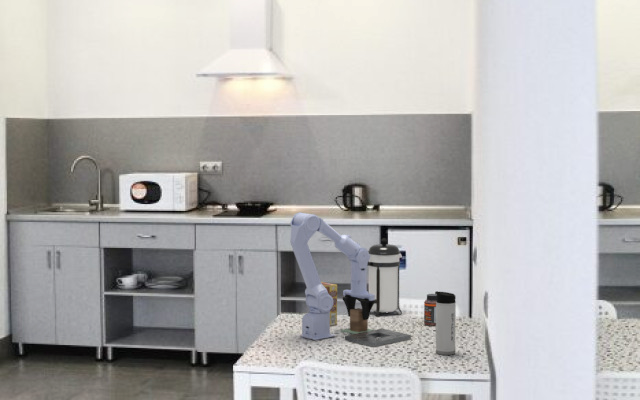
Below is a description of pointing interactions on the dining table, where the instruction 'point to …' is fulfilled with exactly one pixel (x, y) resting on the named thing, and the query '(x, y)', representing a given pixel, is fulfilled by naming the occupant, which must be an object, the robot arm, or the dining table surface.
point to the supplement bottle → (430, 310)
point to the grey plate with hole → (369, 339)
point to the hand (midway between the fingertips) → (358, 317)
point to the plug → (357, 321)
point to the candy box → (333, 293)
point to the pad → (353, 331)
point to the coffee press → (384, 277)
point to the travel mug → (445, 323)
